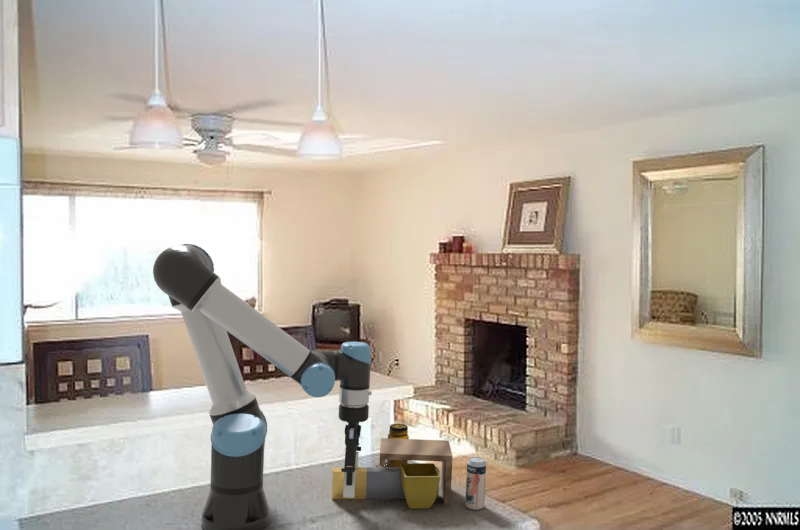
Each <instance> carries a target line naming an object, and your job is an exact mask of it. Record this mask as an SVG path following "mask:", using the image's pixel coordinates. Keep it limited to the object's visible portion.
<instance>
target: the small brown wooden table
mask: <svg viewBox="0 0 800 530" xmlns="http://www.w3.org/2000/svg"><path fill="white" fill-rule="evenodd" d="M379 445H380V446H379V447H380V448H379V462H378V464H379V465H386V462H387V460H408V461H413V462H414V461H417V462H441V475H440V480H441V482H440V489H441V493H442V498H443V499H442V500H443V505H444V506H451V499H452V498H451V496H452V476H453V473H452V472H453V452H452V448H451V444H450V440H444V439H442V440H441V439H439V440H438V439H420V438H419V439H416V438H415V439H414V438H413V439H412V438H411V439H410V438H409V439H391V438H388V437H385V438H384V437H382V438H380V444H379Z"/></svg>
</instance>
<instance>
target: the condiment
mask: <svg viewBox="0 0 800 530" xmlns="http://www.w3.org/2000/svg"><path fill="white" fill-rule="evenodd" d="M388 429H389V431H388V434H387V438H391V439H410V438H409V434H408V433H409V432H408V430H409V426H408V425H407V424H405V423H399V422H398V423H397V422H395V423H392V424H390V425H389V428H388ZM408 461H409V460H386V464H387V465H385V466H384V465H379V463H375V464H374V465H376V467H401V465H400V464H409V462H408Z"/></svg>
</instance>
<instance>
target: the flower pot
mask: <svg viewBox="0 0 800 530" xmlns="http://www.w3.org/2000/svg"><path fill="white" fill-rule="evenodd" d="M400 465H401V482H402V488H403V492H404V495H405V498H404V499H405V500H406V504H407V506H408V508H409V509H411V510H412V509H413V510H414V509H430V508H431V507H432V506H433V505H434V503H435V501H436V499H437V498H436V496H437V493H438V487H440V486H439V485H440V480H441V475H440V471H439V472H438V470H437V469H436V467H437V466H436V465H435V464H434V463H432V462H431V463H426V462H425V463H422V462H421V463H408V464H400ZM438 494H439V493H438Z"/></svg>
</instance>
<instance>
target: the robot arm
mask: <svg viewBox="0 0 800 530" xmlns="http://www.w3.org/2000/svg"><path fill="white" fill-rule="evenodd" d="M214 265H215V264H214V262H213V259H212V257H211V255H209V253H208V252H207V251H206V250H205V249H204V248H202V247H201V246H198V245H195V244H193V243H184V244H178V245H175V246H171V247H168V248H166V249H165V250H163V251H162V252H160V253H159V255H158V256H157V257H156V259H155V261H154V264H153V269H152V275H153V280H154V282H155V283H156V285H157V287H158V288H159V290H161V291H162V293H164V294H166V295H167V296H168V299H169V302H170V304H171V307H172V308H173V309H176V310H178V311H179V312H180V313H181V316H182V319H183V322H184V324H185V327H186V330H187V333H188V336H189V340H190V341H191V345H192V347H193V350H194V354H195V357H196V359H197V362H198V364H199V368H200V371H201V374H202V377H203V379H204V382H205V385H206V388H207V392H208V395H209V396H210V400H211V403H212V405H211V407H210V409H209V411H208V414H209V416H210V420H211V422H212V429H211V433H210V442H211V449H210V450H211V451H210V452H211V453H210V454H211V456H210V488H209V492H208V496H207V498H206V500H205V501H206V502H205V504H204V506H203V510H202V513H201V528H202V529H203V530H264V529H265V528H266V527H267V526H268V525H269V524H270V523H271V510H270V506H269V503H268V500H267V496H266V493H265V489H264V463H265V461H264V460H265V459H264V458H265V446H266V437H267V435H268V434H267V433H268V422H267V419H266V416H265V414H264V412H263V411H262V410H261V408H260V406H259V403H258V400H257V397H256V395H255V394H254V393H251V392H249V391H248V389H247V387H246V384H245V381H244V379H243V376H242V372H241V370H240V367H239V363H238V360H237V357H236V355H235V352H234V349H233V345H232V343H231V340H230V337H229V334H230V335H232V336H234V337H235V338H236V339H238V341H240V342H241V343H243V344H244V345H245V346H247V347H248V348H250V349H251V350H252V351H253V352H255V353H257V354H258V355H259V356H261V357H262V358H264V359H265V360H266V361H267V362H269V363H271V364H272V365H273V366H275V367H276V368H277V369H278V370H280V371H281V372H283V374H286V375H287V376H289V378H291V379H292V380H293V381H294V382H296V383H297V384H298V385H300V386H301V387H302V389H303V391H304V392H305V393H306V394H307V395H308V396H311V397H312V398H322V397H326V396H327V395H329V394H330V393H331V392H332V391H333V389H334V387H335V383H336V382H337V381H338V382H339V387H338V388H339V391H338V394H339V396H338V402H339V403H340V404H339V406H338V419H339V420H340V421H341V422H346V423H347V424H345V427H344V435H345V436H344V437H345V438H344V444H345V451H344V452H345V455H344V465H343V467H344V468H342V470H341V472H344V489H343V497H346V498H354V495H355V467H359V452H361V451H362V446H360V437H361V432H362V425H360V423H363V422H366V421H368V419H369V415H370V414H369V410H370V406H369V403H370V396H372V394H373V393H372V391H370V387H371V386H370V384H371V366H372V365H371V364H372V361H371V359H372V358H371V357H372V355H371V351H372V350H371V346H370V345H369V344H368V343H366V342H362V341H346V342H343V343H342V344H341V346H340V350H339V349H338V350H314V349H311V350H310V349H309V348H307V347H306V345H305V346H304V345H303V344H302V343H300V341H298V340H297V339H296V338H294V337H293V336H292V335H290V334H289V333H288V332H286V331H285V330H283V329H282V328H280V327H279V326H278V325H277V324H275V323H274V322H272V321H271V320H270V319H269V318H267V317H266V316H264V315H263V314H262V313H261V312H259V311H258V310H257V309H255V308H254V307H252V306H251V305H250V304H248V303H247V302H246V301H244V300H243V299H242V298H240V297H239V296H237V294H235V293H234V292H232V291H231V290H230V289H229V288H227V287H226V286H224V285H223V284H222V281H221V277H220V276H219V275H218V274H216V273H215V267H214ZM228 333H229V334H228Z"/></svg>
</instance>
